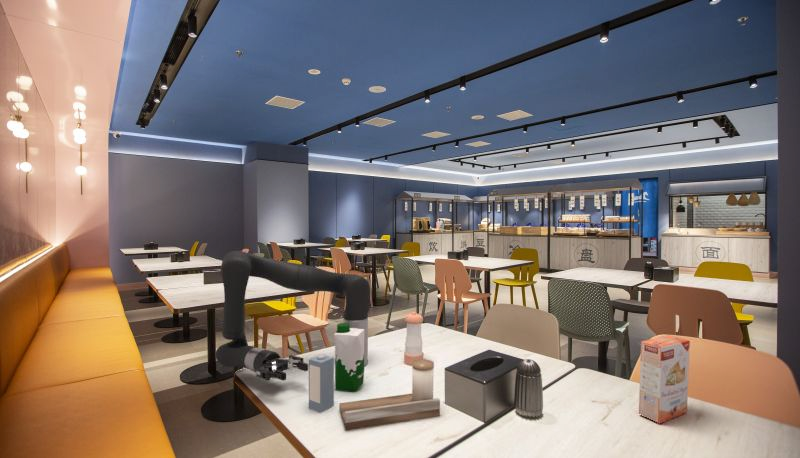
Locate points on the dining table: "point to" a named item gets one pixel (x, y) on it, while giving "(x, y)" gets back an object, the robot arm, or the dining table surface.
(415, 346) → the salt shaker
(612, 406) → the dining table surface
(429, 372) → the jar
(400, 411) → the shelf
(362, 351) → the milk carton
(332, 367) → the tea tin
